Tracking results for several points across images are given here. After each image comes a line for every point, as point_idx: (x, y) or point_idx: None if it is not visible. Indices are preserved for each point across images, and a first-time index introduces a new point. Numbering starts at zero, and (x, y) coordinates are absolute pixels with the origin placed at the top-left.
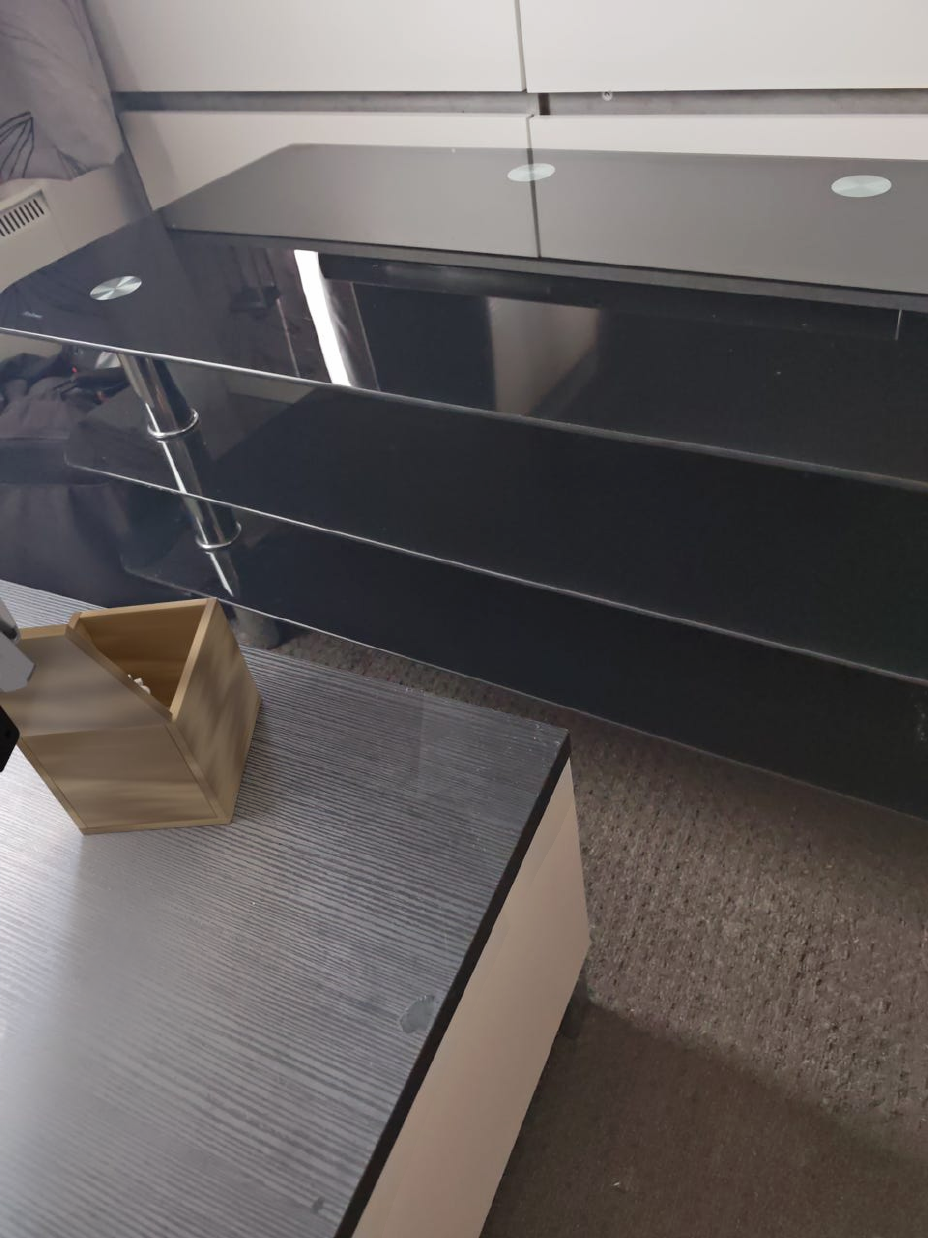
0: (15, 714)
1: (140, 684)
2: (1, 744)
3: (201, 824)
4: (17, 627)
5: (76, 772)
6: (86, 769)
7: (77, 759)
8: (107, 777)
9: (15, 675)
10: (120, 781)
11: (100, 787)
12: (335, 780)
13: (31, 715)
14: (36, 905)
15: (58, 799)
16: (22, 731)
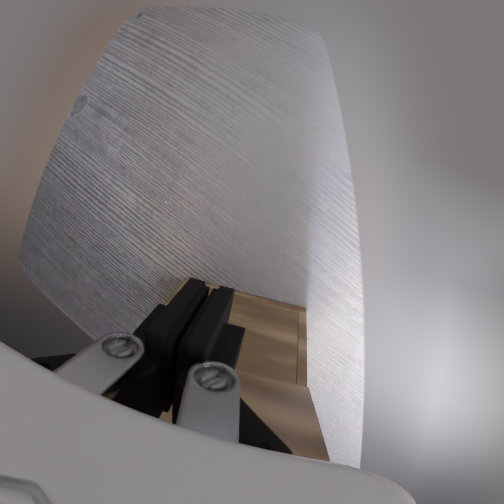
0: (260, 400)
1: None
2: (154, 311)
3: (208, 284)
4: None
5: (270, 343)
6: (258, 342)
7: (258, 351)
8: (245, 331)
9: None
10: (237, 325)
11: (260, 327)
12: (118, 286)
13: (243, 393)
14: (339, 255)
15: (305, 332)
16: (282, 386)
